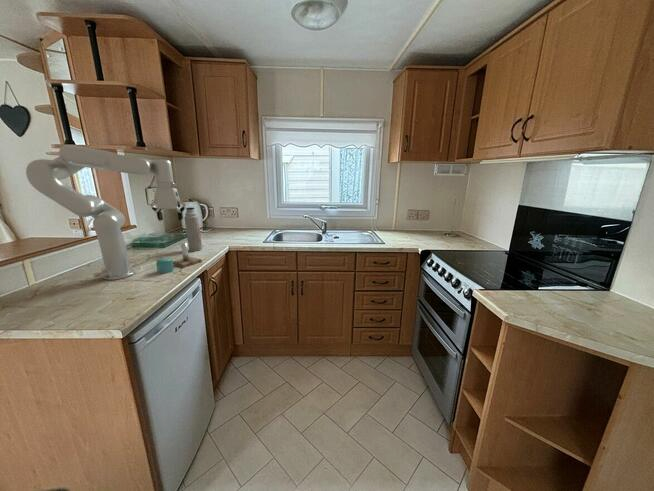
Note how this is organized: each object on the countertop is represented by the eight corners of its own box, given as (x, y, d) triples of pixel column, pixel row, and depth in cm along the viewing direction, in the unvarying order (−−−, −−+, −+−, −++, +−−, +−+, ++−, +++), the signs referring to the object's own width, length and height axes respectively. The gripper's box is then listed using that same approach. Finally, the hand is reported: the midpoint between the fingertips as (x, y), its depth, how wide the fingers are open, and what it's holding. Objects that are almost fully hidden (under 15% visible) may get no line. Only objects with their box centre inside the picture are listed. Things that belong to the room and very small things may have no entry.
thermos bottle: (204, 248, 180) (199, 207, 172) (197, 251, 172) (191, 208, 165) (194, 247, 181) (188, 206, 174) (186, 251, 174) (180, 208, 166)
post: (185, 261, 148) (182, 244, 145) (182, 260, 149) (179, 243, 147) (190, 260, 151) (188, 243, 148) (187, 259, 152) (184, 242, 149)
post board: (183, 267, 143) (183, 264, 143) (171, 264, 148) (171, 261, 148) (201, 261, 153) (201, 259, 152) (189, 259, 158) (189, 256, 157)
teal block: (163, 274, 134) (161, 262, 132) (155, 271, 137) (153, 260, 136) (176, 269, 140) (174, 259, 138) (168, 267, 143) (166, 257, 141)
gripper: (186, 185, 135) (191, 218, 140) (151, 185, 134) (156, 219, 138) (180, 186, 128) (185, 221, 132) (142, 186, 126) (148, 221, 131)
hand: (170, 220), depth 135 cm, fingers open, 9 cm apart
